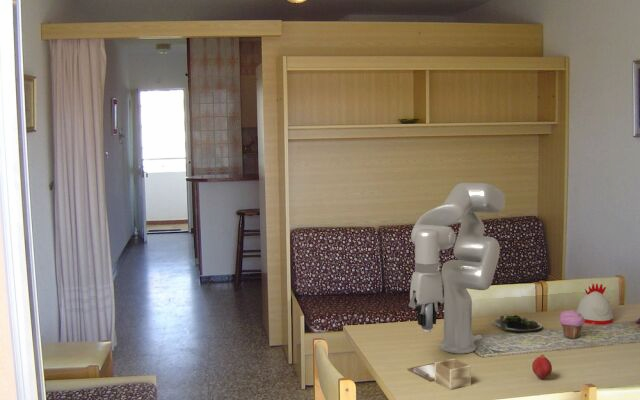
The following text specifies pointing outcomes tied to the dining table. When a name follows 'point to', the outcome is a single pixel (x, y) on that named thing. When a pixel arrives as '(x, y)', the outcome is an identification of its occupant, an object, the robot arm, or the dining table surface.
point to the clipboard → (425, 371)
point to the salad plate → (518, 324)
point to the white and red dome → (595, 307)
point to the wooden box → (452, 374)
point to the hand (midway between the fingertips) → (427, 323)
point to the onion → (542, 367)
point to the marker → (428, 317)
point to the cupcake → (571, 323)
